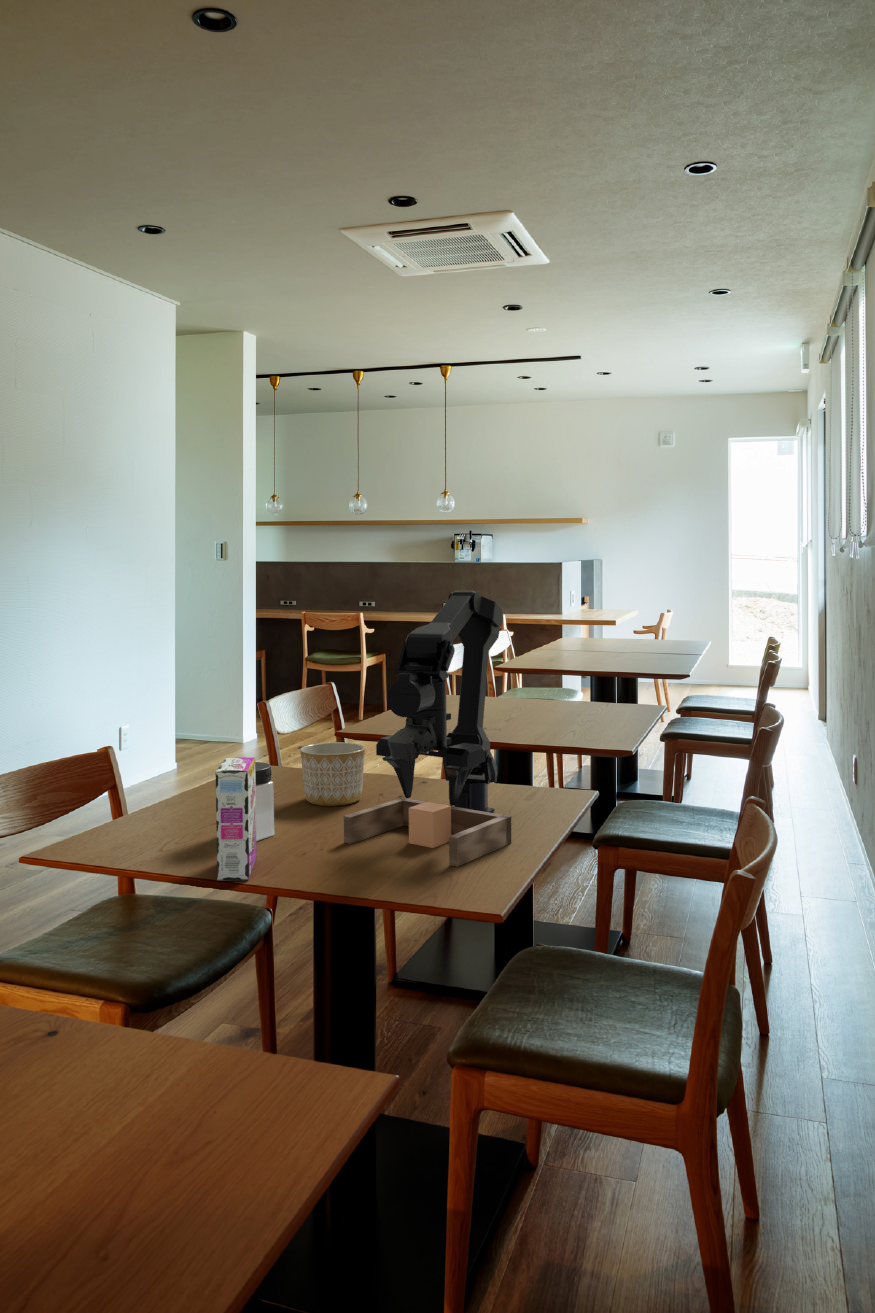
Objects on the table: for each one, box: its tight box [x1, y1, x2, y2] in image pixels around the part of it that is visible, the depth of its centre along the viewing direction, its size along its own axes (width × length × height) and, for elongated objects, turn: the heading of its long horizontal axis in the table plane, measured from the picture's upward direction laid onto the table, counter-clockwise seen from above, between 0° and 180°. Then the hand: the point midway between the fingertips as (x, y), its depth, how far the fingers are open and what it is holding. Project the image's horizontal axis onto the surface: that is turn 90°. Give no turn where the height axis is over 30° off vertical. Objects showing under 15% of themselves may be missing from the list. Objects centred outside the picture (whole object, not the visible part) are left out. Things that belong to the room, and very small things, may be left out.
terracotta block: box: [408, 801, 451, 849], centre depth 160 cm, size 5×5×6 cm
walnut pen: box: [343, 797, 512, 868], centre depth 160 cm, size 16×23×4 cm
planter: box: [299, 741, 366, 807], centre depth 189 cm, size 13×13×10 cm
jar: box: [255, 761, 275, 842], centre depth 165 cm, size 9×8×12 cm
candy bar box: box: [215, 756, 258, 882], centre depth 146 cm, size 11×5×16 cm, turn 5°
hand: (430, 801), depth 160 cm, fingers open, 9 cm apart
